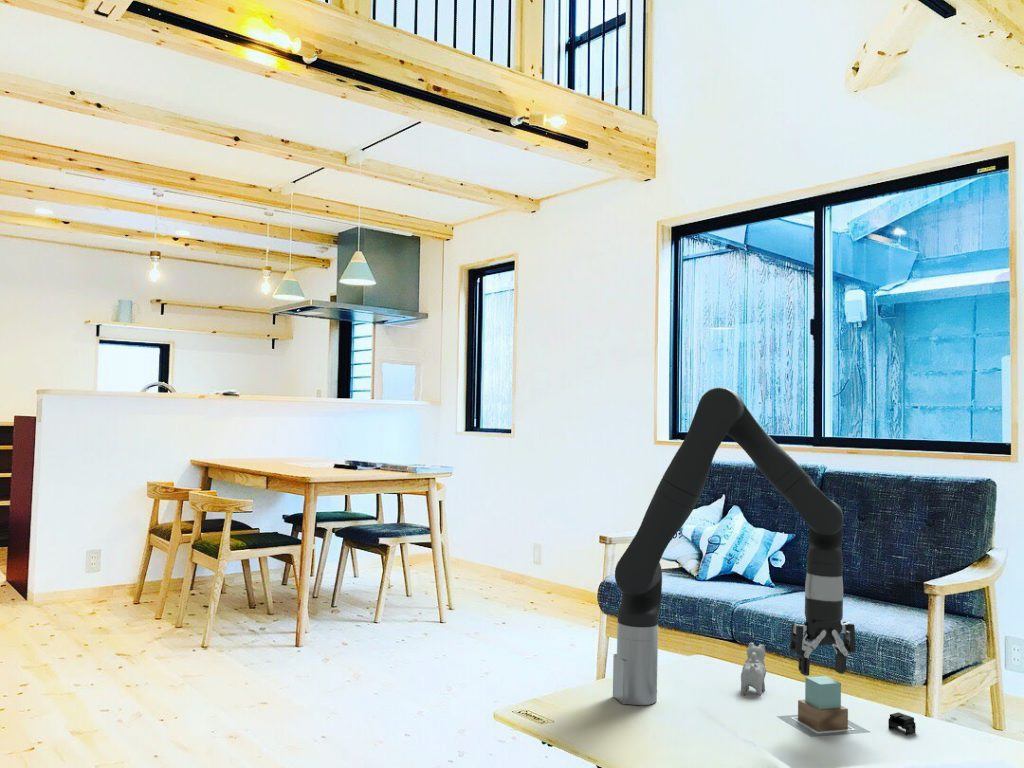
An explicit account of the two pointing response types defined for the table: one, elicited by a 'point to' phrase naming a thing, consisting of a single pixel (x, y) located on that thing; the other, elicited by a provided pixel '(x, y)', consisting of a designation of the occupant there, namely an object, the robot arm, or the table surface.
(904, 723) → the black stepped block
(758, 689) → the dog figurine
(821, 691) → the teal cube
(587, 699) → the table surface
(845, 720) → the walnut block
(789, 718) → the board
